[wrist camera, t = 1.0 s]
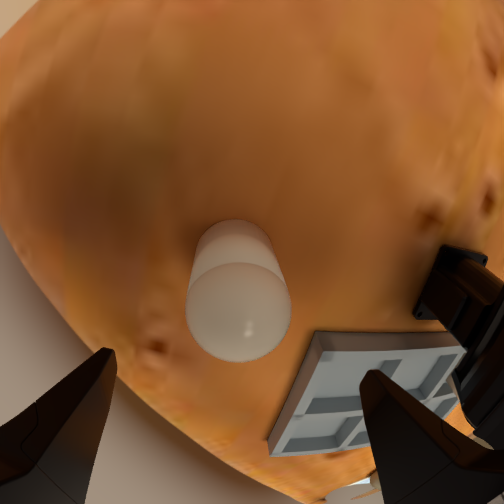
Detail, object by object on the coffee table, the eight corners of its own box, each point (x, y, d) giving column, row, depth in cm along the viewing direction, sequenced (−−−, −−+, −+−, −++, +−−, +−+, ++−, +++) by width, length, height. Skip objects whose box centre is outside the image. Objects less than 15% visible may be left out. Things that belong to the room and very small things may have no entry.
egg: (280, 225, 17) (317, 300, 10) (264, 292, 19) (285, 386, 12) (200, 213, 16) (182, 285, 9) (192, 284, 18) (177, 378, 11)
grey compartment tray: (493, 328, 24) (503, 339, 22) (428, 418, 30) (434, 429, 28) (315, 331, 21) (323, 351, 19) (267, 440, 27) (269, 456, 25)
